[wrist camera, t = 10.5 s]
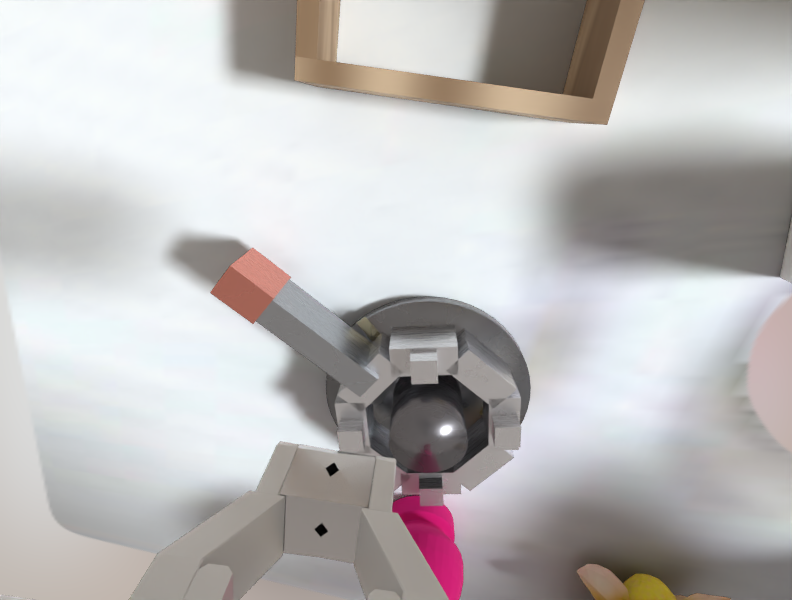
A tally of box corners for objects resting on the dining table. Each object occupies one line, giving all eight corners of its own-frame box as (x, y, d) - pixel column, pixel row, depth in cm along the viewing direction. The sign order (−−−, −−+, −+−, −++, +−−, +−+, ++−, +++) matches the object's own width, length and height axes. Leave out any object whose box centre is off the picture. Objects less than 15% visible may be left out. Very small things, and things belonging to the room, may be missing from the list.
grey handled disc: (546, 395, 31) (564, 436, 27) (431, 487, 35) (433, 533, 31) (297, 188, 26) (275, 201, 22) (196, 321, 30) (164, 352, 26)
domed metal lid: (551, 312, 30) (580, 357, 24) (501, 475, 36) (516, 540, 30) (336, 282, 30) (317, 320, 24) (322, 450, 36) (304, 511, 30)
